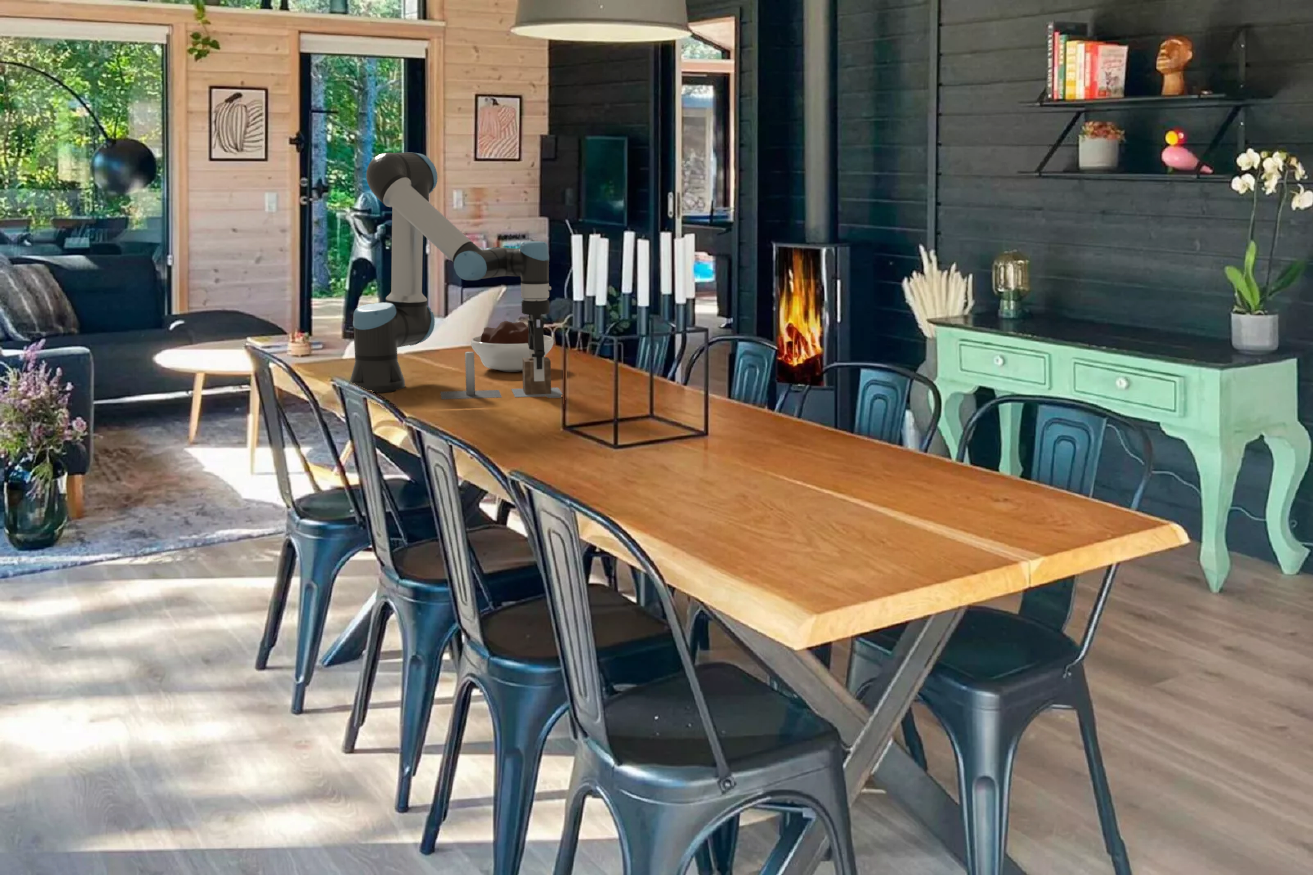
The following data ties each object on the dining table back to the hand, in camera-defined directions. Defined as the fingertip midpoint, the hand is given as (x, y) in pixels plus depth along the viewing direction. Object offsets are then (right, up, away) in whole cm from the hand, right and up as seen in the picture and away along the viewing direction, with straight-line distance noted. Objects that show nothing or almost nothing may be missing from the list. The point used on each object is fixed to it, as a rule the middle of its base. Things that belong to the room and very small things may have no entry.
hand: (536, 377), depth 385 cm
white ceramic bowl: (-11, +4, +44) cm, 45 cm away
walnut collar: (0, -4, +1) cm, 4 cm away
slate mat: (0, -5, +1) cm, 5 cm away
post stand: (-18, -5, -2) cm, 19 cm away
